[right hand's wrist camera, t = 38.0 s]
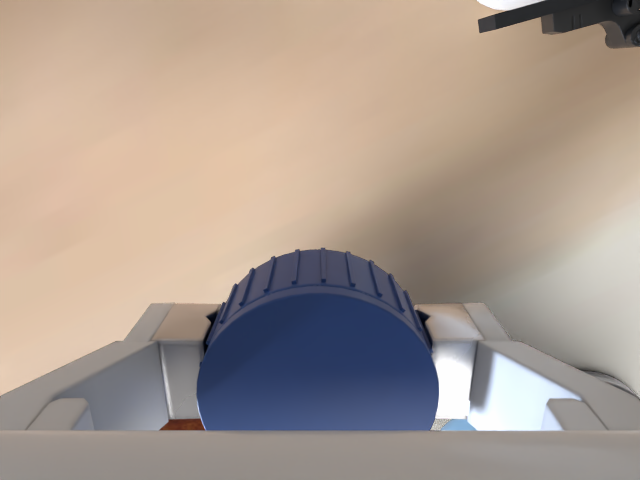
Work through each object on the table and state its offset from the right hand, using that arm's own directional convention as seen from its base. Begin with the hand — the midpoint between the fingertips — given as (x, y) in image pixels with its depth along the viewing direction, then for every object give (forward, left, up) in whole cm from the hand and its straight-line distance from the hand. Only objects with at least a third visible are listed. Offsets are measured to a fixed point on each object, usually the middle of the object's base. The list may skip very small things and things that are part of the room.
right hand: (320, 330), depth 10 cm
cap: (0, 0, +2) cm, 2 cm away
